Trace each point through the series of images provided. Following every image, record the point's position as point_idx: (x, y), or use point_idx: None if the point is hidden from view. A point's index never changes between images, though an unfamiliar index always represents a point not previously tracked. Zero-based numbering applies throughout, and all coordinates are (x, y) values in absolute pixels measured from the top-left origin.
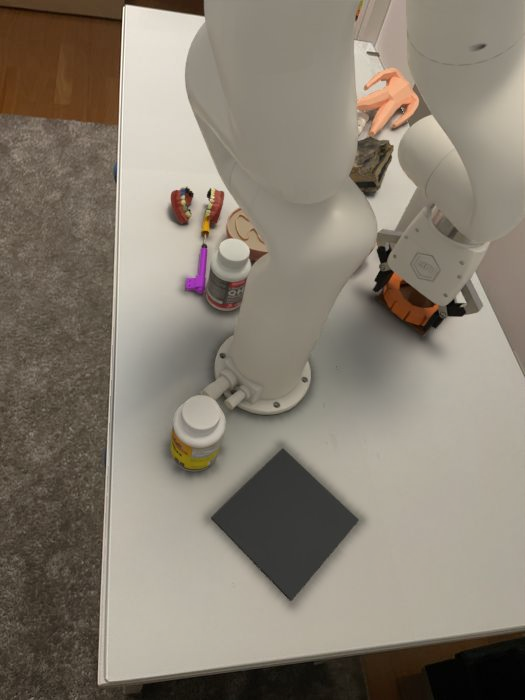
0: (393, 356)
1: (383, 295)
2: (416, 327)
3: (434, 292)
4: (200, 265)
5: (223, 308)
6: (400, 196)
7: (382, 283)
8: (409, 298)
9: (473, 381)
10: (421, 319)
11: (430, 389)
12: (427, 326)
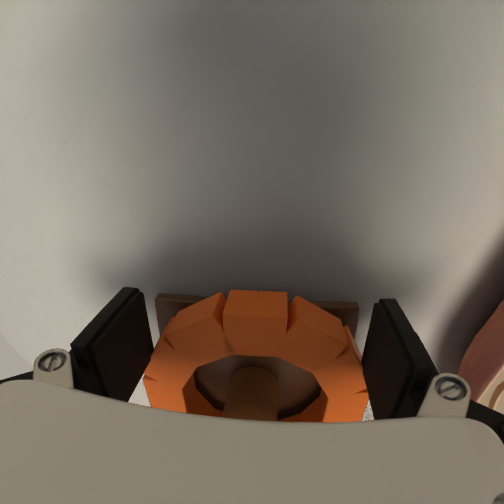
0: (169, 151)
1: None
2: (186, 304)
3: (29, 444)
4: None
5: None
6: None
7: (388, 338)
8: (271, 375)
9: (20, 269)
10: (173, 326)
11: (46, 158)
12: (116, 301)
